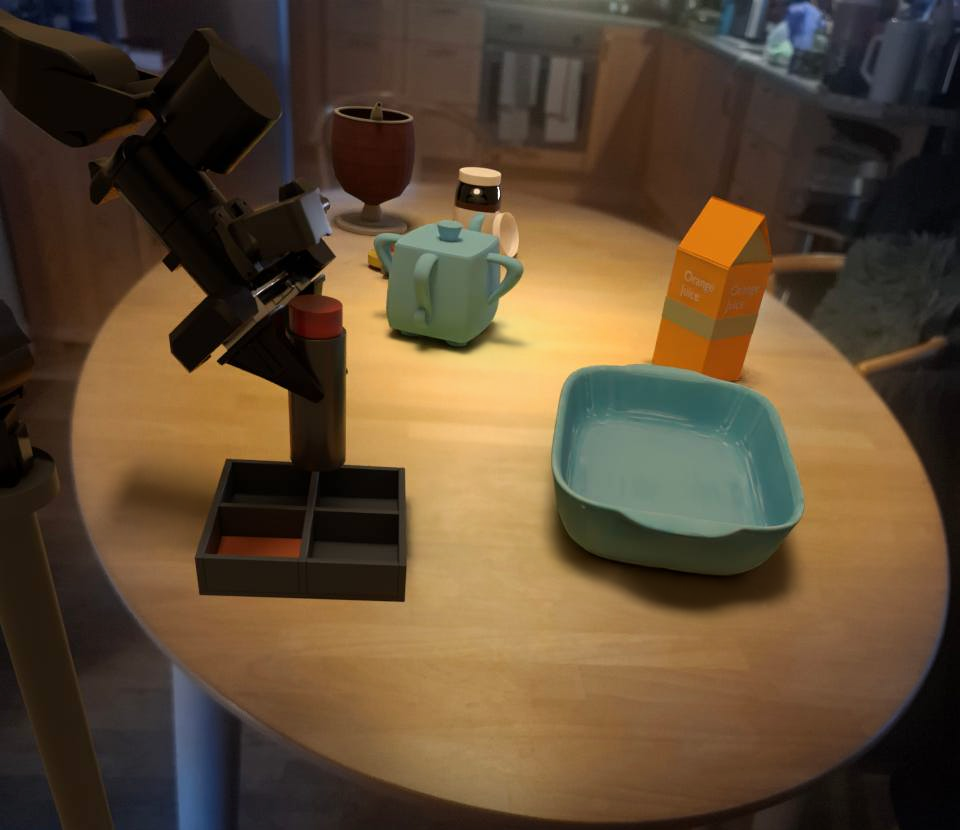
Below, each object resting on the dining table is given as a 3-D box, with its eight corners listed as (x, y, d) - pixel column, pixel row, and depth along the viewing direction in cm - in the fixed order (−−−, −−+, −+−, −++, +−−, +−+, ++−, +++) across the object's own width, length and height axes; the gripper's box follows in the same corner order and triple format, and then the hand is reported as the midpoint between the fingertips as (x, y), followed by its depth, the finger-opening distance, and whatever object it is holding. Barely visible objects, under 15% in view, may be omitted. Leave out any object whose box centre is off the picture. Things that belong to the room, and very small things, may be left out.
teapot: (522, 352, 115) (536, 242, 107) (400, 356, 110) (405, 241, 101) (475, 304, 128) (484, 203, 120) (364, 306, 123) (365, 200, 114)
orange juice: (697, 388, 111) (742, 216, 99) (650, 362, 116) (687, 196, 104) (740, 379, 115) (788, 213, 102) (692, 354, 120) (733, 194, 108)
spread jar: (453, 237, 155) (458, 162, 147) (517, 244, 155) (526, 170, 148) (448, 256, 145) (454, 178, 138) (517, 264, 146) (526, 186, 138)
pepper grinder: (279, 456, 75) (272, 299, 67) (322, 441, 77) (320, 289, 69) (314, 477, 72) (311, 318, 64) (357, 461, 75) (359, 307, 67)
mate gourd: (329, 212, 159) (328, 82, 147) (406, 217, 162) (411, 90, 150) (334, 237, 148) (333, 98, 135) (417, 241, 150) (424, 105, 138)
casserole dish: (558, 406, 103) (567, 345, 98) (751, 434, 102) (769, 374, 97) (529, 583, 74) (541, 509, 69) (798, 625, 73) (827, 552, 68)
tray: (199, 595, 68) (194, 557, 66) (229, 493, 81) (225, 458, 78) (404, 602, 70) (406, 565, 68) (403, 501, 82) (405, 467, 80)
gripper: (193, 165, 54) (363, 374, 59) (310, 122, 68) (438, 293, 74) (95, 276, 60) (259, 458, 65) (222, 215, 74) (347, 368, 79)
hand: (333, 388), depth 71 cm, fingers closed on pepper grinder, 4 cm apart
